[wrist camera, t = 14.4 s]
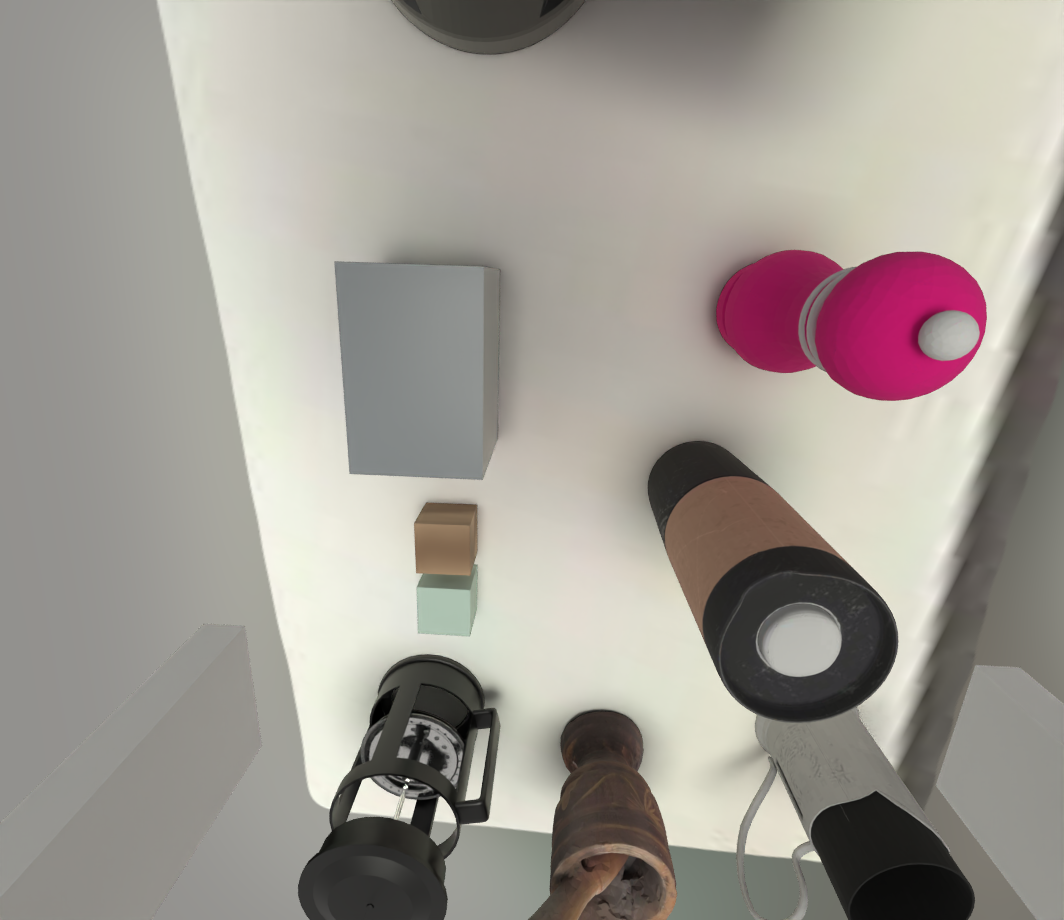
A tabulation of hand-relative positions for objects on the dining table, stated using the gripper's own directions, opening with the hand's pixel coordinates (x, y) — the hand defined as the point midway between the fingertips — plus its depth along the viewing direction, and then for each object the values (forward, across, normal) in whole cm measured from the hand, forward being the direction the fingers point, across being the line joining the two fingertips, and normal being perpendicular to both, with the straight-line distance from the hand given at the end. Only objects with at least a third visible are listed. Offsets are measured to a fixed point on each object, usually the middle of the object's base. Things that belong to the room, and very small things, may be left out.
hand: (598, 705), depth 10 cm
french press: (+32, -10, -28) cm, 44 cm away
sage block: (+32, -8, -17) cm, 37 cm away
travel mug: (+32, +10, -7) cm, 34 cm away
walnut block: (+32, -8, -11) cm, 35 cm away
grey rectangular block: (+32, -9, +2) cm, 33 cm away
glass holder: (+32, +20, -30) cm, 48 cm away
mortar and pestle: (+32, +3, -32) cm, 45 cm away
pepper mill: (+32, +13, +6) cm, 35 cm away
